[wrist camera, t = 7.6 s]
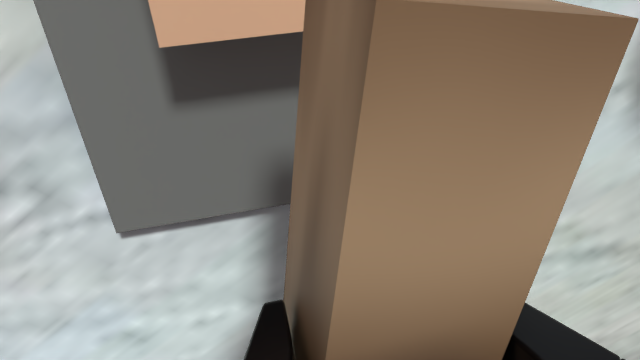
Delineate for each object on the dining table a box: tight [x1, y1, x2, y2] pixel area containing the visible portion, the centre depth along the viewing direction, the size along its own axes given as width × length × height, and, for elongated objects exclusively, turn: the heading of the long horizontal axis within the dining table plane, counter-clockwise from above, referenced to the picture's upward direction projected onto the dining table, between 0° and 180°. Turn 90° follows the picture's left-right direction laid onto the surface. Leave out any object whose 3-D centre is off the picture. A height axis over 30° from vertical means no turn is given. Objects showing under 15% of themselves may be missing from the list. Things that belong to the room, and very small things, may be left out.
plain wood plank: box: [283, 0, 638, 360], centre depth 9 cm, size 12×3×4 cm, turn 175°
